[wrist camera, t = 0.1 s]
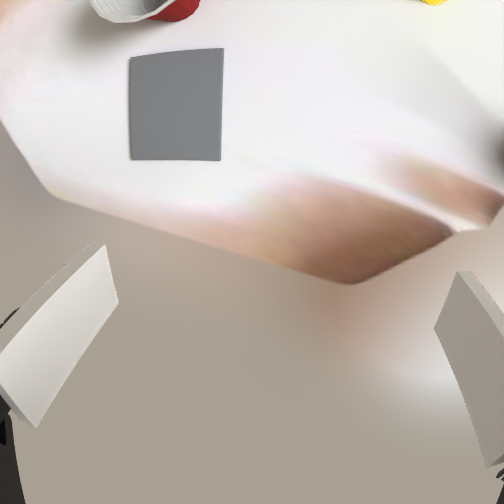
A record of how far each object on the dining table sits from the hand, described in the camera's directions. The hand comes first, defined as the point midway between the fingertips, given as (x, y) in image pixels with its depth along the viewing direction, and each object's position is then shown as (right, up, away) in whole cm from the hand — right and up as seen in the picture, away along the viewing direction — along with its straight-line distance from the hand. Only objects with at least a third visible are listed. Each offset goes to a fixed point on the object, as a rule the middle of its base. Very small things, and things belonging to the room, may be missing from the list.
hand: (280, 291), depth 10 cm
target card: (-10, +19, +23) cm, 32 cm away
